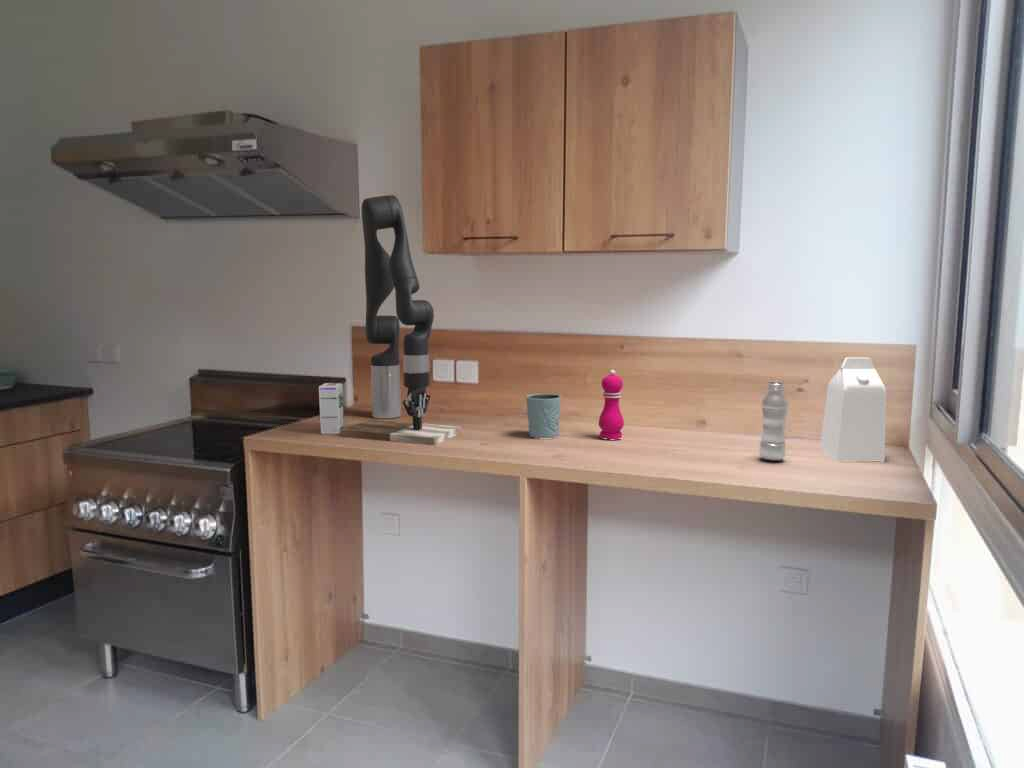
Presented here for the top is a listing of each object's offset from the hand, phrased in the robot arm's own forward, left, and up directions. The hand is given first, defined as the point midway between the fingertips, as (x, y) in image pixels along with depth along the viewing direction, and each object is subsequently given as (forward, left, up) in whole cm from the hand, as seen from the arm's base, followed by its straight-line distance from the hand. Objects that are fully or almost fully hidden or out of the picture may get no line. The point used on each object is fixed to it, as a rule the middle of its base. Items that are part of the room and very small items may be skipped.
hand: (417, 429), depth 218 cm
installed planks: (0, -13, -2) cm, 13 cm away
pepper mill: (-19, +53, -2) cm, 56 cm away
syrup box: (+4, -26, -2) cm, 27 cm away
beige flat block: (0, +2, -2) cm, 3 cm away
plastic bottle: (-9, +97, -2) cm, 97 cm away
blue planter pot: (-14, +34, -2) cm, 37 cm away
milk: (-21, +116, -2) cm, 118 cm away
